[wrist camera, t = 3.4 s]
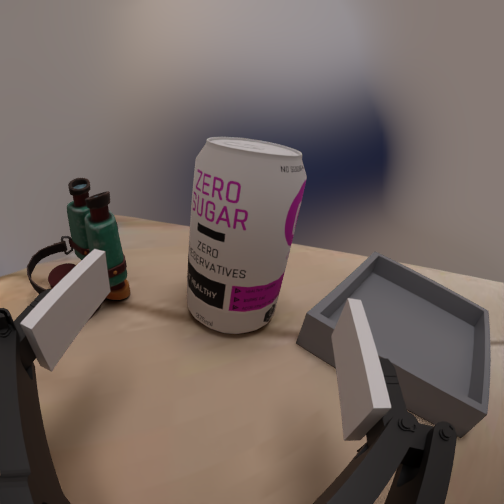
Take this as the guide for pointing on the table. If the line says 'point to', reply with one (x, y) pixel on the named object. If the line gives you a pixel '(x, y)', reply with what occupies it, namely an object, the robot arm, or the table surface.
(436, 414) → the tray
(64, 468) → the table surface
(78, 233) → the binoculars
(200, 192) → the supplement can
